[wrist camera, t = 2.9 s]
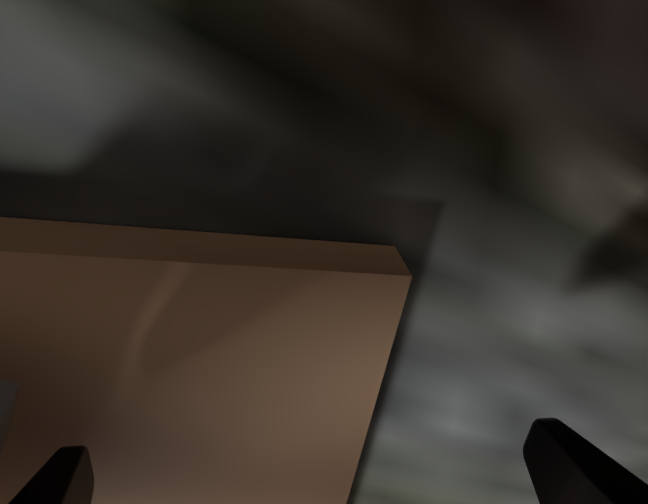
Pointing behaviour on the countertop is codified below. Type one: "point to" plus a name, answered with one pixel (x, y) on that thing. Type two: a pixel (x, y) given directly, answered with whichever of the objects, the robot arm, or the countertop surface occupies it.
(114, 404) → the brown board
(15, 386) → the peg
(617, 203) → the countertop surface
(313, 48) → the countertop surface
